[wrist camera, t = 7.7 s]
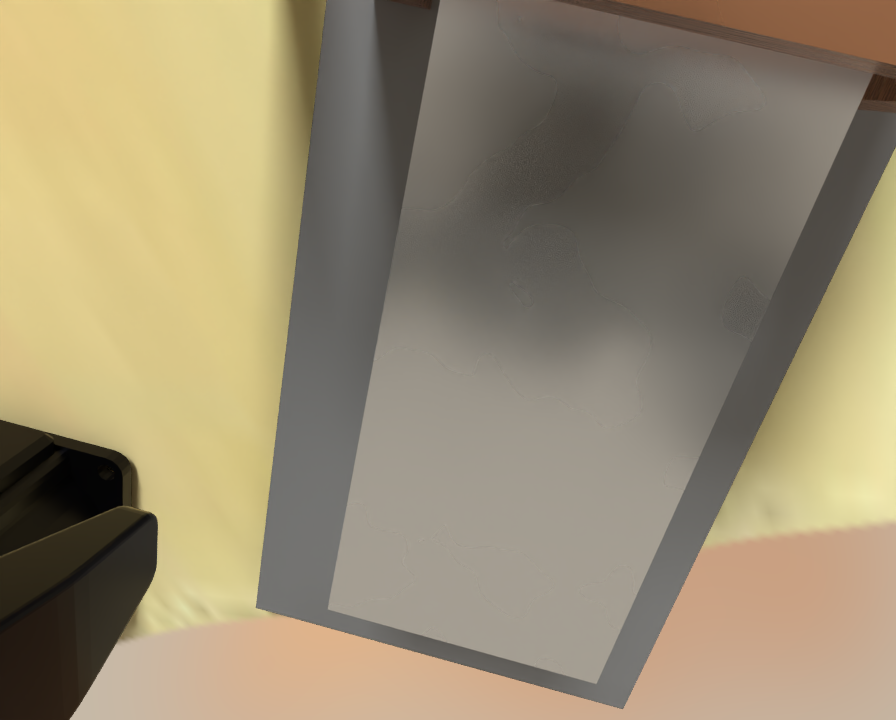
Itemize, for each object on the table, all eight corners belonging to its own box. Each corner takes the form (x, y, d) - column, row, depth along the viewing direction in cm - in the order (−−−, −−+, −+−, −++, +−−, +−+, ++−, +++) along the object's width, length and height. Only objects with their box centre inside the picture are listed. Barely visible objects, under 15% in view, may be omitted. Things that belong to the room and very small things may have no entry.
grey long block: (588, 515, 16) (606, 699, 11) (382, 460, 16) (314, 618, 11) (886, -259, 10) (1208, -581, 5) (546, -331, 10) (545, -706, 5)
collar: (859, 109, 12) (1245, 144, 5) (373, -3, 12) (172, -101, 6) (885, 50, 11) (1341, 7, 5) (382, -64, 12) (176, -245, 5)
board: (620, 685, 19) (622, 709, 18) (266, 588, 20) (255, 607, 19) (1088, -311, 10) (1132, -342, 9) (395, -449, 10) (383, -491, 10)
